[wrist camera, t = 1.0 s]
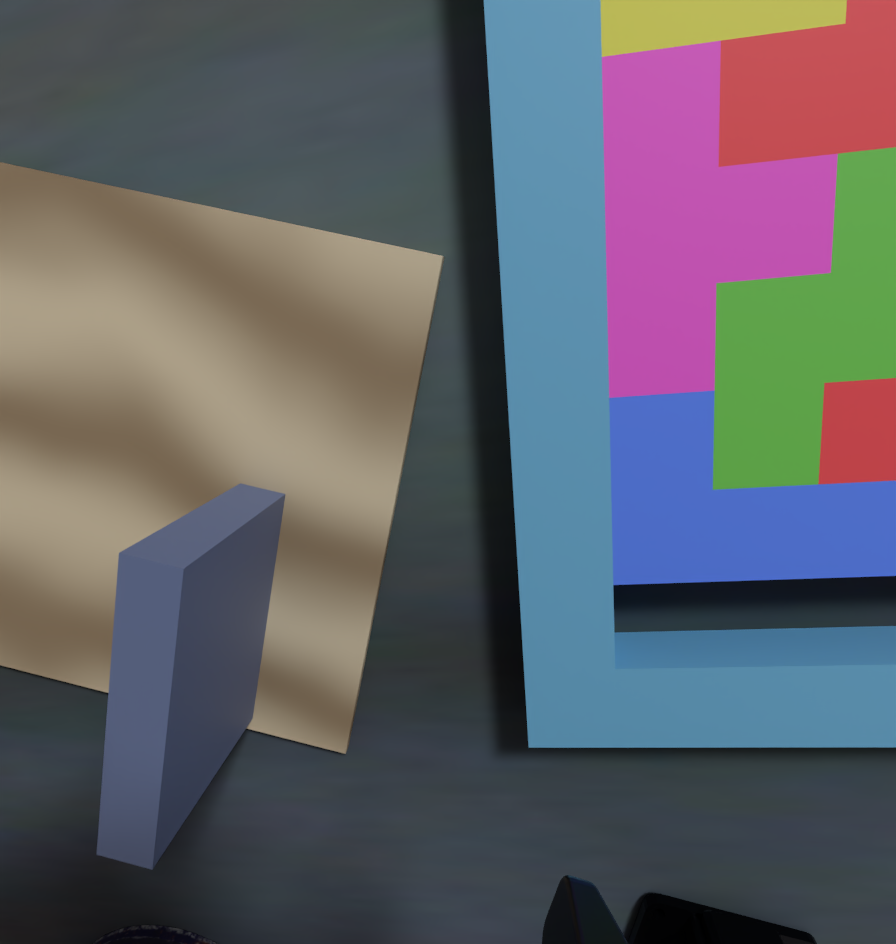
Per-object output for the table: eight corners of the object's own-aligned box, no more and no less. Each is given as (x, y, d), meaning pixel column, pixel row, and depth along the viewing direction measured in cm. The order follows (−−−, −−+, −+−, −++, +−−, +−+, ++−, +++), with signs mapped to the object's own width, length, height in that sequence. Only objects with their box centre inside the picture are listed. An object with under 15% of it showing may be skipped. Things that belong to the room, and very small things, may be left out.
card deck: (252, 718, 23) (152, 869, 16) (210, 707, 23) (94, 854, 16) (285, 494, 20) (183, 568, 14) (238, 482, 20) (116, 552, 14)
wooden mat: (348, 746, 23) (345, 754, 22) (-43, 646, 24) (-53, 651, 23) (444, 257, 18) (442, 256, 18) (-43, 154, 19) (-55, 151, 19)
